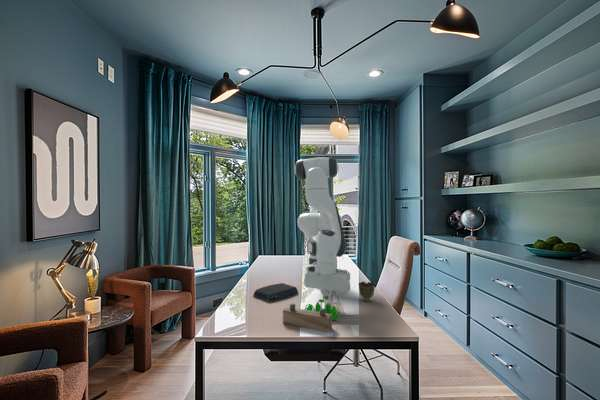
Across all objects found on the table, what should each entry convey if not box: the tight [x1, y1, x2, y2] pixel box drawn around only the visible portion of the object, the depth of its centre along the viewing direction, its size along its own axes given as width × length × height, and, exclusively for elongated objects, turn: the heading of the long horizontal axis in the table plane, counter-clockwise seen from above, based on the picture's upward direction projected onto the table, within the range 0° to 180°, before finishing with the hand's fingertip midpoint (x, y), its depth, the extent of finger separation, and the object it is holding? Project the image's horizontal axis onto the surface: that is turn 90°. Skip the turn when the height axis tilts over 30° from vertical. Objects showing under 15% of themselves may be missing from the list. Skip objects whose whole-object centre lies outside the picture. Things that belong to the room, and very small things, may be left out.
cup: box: [358, 281, 376, 302], centre depth 144 cm, size 8×7×8 cm
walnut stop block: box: [282, 303, 333, 333], centre depth 115 cm, size 4×18×7 cm, turn 66°
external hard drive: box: [252, 282, 299, 303], centre depth 151 cm, size 13×19×4 cm
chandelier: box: [303, 298, 340, 322], centre depth 124 cm, size 15×15×7 cm
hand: (326, 299), depth 136 cm, fingers closed
